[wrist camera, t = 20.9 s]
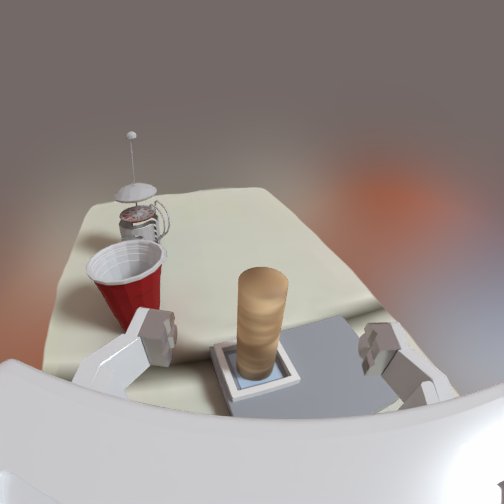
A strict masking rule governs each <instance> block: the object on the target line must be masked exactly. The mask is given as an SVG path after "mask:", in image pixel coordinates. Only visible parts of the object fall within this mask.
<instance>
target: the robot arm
mask: <svg viewBox="0 0 504 504" xmlns="http://www.w3.org/2000/svg"><path fill="white" fill-rule="evenodd" d="M174 319H175V317H174V313H173V312H170V311H163V310H157V309H149V308H143V307H139V308H138V309H137V310H136V312H135V315H134V317H133V319H132V321H131V323H130V325H129V327H128V329H127V331H126V333H125V334H121V335H120V336H118V337H116V338H115V339H113V340H112V341H110V342H109V343H107V344H106V345H104V346H103V347H101V348H100V349H98V350H97V351H95V352H94V353H92V354H91V355H89V356H88V357H86V358H85V359H83V360H82V362H81V364H80V366H79V368H78V370H77V372H76V374H75V376H74V378H73V380H72V382H69V381H66V380H63V379H61V378H58V377H56V376H53V375H50V374H48V373H45V372H43V371H41V370H38V369H36V368H34V367H31V366H29V365H27V364H25V363H22V362H20V361H18V360H16V359H8V360H6V361H4V362H2V363H1V364H0V504H504V382H502V383H499V384H496V385H494V386H491V387H488V388H485V389H482V390H479V391H476V392H473V393H470V394H467V395H463V396H460V397H456V398H455V396H454V393H453V391H452V388H451V385H450V383H449V380H448V378H447V376H445V375H444V374H443V373H442V372H441V371H440V370H438V369H437V368H436V367H435V366H434V365H432V364H431V363H430V362H429V361H428V360H426V359H425V358H424V357H423V356H422V355H420V354H419V353H418V352H417V351H415V350H414V349H411V348H410V346H409V343H408V341H407V339H406V336H405V334H404V332H403V329H402V327H401V325H400V323H399V322H388V323H387V322H383V323H368V324H367V325H366V326H365V328H364V330H365V333H364V334H363V335H362V336H361V337H360V340H359V343H358V352H359V356H360V357H361V358H362V359H363V360H364V361H363V362H362V368H363V372H364V376H380V375H382V376H381V377H382V378H383V379H384V380H385V381H386V382H387V384H388V385H389V386H390V387H391V388H392V389H393V391H394V392H395V393H396V394H397V395H398V396H399V398H400V399H401V400H402V401H403V402H404V404H403V405H402V406H401V407H400V408H399V409H398V410H397V411H392V412H385V413H378V414H370V415H361V416H351V417H339V418H323V419H260V418H243V417H230V416H220V415H211V414H203V413H195V412H189V411H182V410H176V409H170V408H165V407H160V406H155V405H150V404H146V403H141V402H137V401H133V400H130V399H129V398H128V396H127V394H126V393H125V391H124V389H125V388H126V387H127V386H128V385H130V384H131V383H132V382H133V381H134V380H135V379H136V378H137V377H138V376H139V375H140V374H141V373H142V372H144V371H145V370H146V369H147V368H148V367H149V366H150V364H151V365H157V366H164V367H169V365H170V361H171V358H172V351H171V349H172V348H174V347H175V344H176V340H177V327H176V325H175V324H174V323H173V322H174Z"/></svg>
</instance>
